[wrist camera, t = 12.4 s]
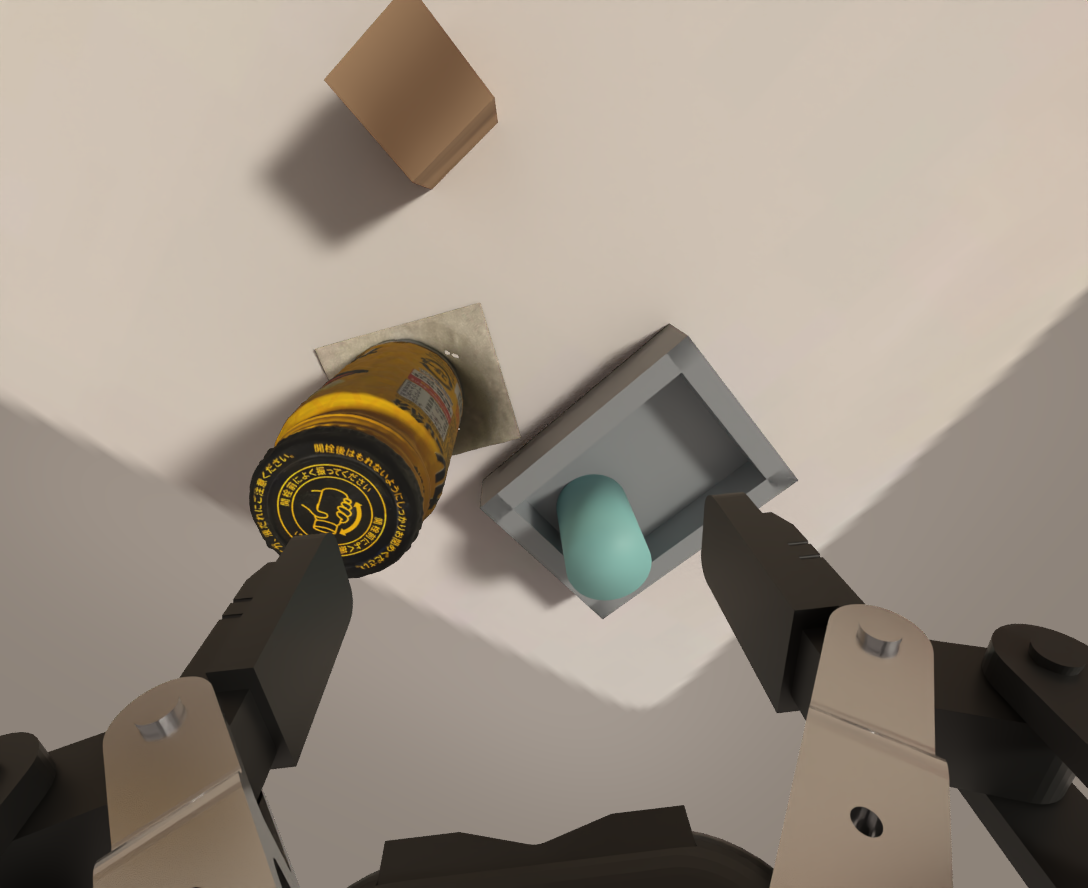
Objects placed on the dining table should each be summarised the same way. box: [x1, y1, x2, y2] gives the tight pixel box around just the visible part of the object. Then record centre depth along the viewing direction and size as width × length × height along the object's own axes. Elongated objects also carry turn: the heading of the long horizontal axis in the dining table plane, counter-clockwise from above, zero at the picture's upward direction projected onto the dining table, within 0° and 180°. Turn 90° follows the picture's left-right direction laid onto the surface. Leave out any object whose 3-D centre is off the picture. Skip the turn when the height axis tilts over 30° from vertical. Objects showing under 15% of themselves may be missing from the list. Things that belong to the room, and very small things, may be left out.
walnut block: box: [324, 0, 498, 189], centre depth 20 cm, size 4×4×5 cm
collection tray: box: [480, 324, 798, 619], centre depth 28 cm, size 10×13×3 cm
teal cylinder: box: [556, 474, 652, 600], centre depth 27 cm, size 4×4×6 cm
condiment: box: [249, 303, 521, 578], centre depth 21 cm, size 7×8×12 cm
